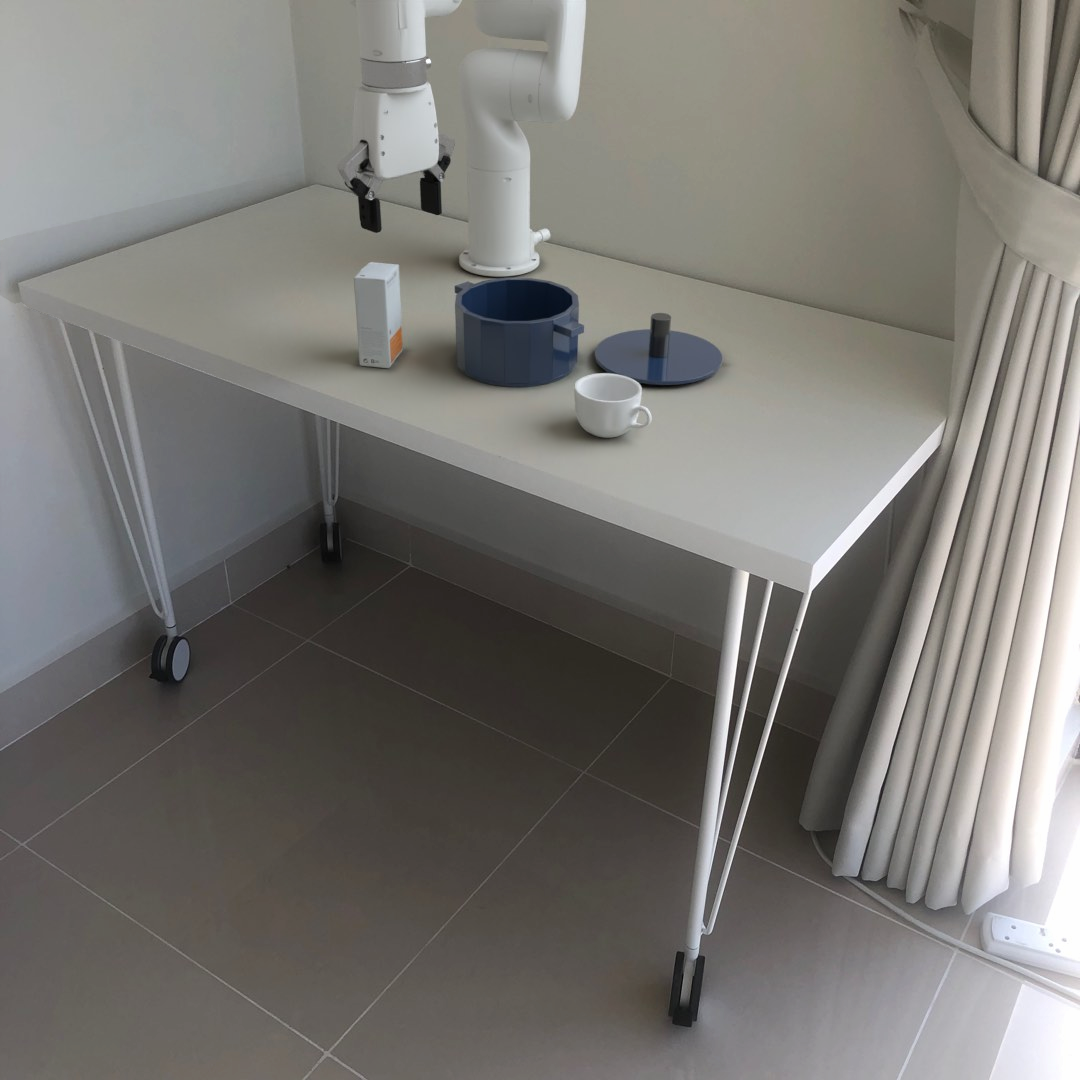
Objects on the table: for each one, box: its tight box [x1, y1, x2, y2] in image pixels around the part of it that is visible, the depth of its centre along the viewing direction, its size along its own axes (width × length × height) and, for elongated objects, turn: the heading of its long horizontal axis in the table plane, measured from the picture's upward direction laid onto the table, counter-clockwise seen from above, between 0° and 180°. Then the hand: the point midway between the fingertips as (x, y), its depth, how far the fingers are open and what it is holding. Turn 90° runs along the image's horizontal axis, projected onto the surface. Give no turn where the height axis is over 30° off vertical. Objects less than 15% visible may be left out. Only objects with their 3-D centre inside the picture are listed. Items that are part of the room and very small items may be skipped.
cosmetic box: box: [353, 261, 404, 369], centre depth 150 cm, size 6×4×12 cm
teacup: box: [573, 372, 653, 439], centre depth 135 cm, size 10×8×5 cm
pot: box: [454, 277, 585, 388], centre depth 150 cm, size 16×21×8 cm
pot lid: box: [594, 312, 723, 386], centre depth 151 cm, size 17×17×6 cm
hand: (401, 221), depth 143 cm, fingers open, 9 cm apart
